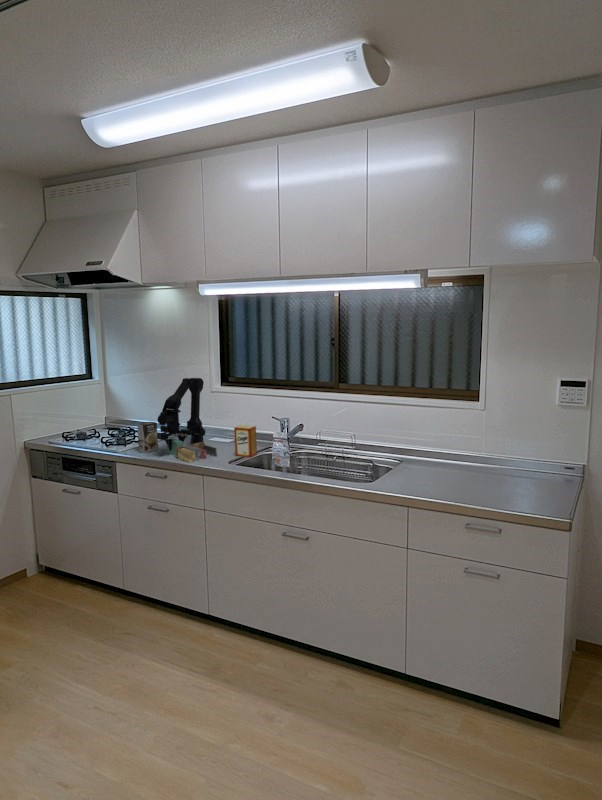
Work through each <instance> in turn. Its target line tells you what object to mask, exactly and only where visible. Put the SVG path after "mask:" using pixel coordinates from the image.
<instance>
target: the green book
mask: <svg viewBox="0 0 602 800" xmlns="http://www.w3.org/2000/svg"><path fill="white" fill-rule="evenodd" d="M171 439H172V450H171V451H170V450H169V447H168V445H167V444H166V447H167V448H166V449H167V454H169V455H171V454H172V455H171V456H174V455H175V457H177V452H176V447H181V446H184V442H183V441H180V440H179V439H177V438H176V439H175V438H173V437H171Z"/></svg>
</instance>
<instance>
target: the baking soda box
mask: <svg viewBox="0 0 602 800" xmlns="http://www.w3.org/2000/svg"><path fill="white" fill-rule="evenodd" d="M257 448H258V447H257V426H256V425H247V424H245V425H243V424H241V425H240V424H239V425H238V426H235V427H234V449H235V450H234V452H235V457H240V458H241V457H244V458H253V457H255V456H257V455H258V453H257V452H258V450H257Z"/></svg>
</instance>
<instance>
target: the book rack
mask: <svg viewBox="0 0 602 800" xmlns="http://www.w3.org/2000/svg"><path fill="white" fill-rule="evenodd" d="M204 444H205V441H203V442H200V443H195V444H191V443H190V444H187V445H183V446H181V447H176V452H177V456H176V459H177V458H179V459H178V460H180V459H182V460H181V461H183V460H185V461H184V462H186V461H188V462H187V463H189V462H190V463H193V462H192V461H194V462H196V461H195V460H198V461H200V460H199V459H203V460H205V459H204V458H208V457H207V455H208V454H210V455H209V456H212V455H213V456H212V457H217V456H218V453H217V447H214V446H210V445H206V444H205V445H204ZM206 453H207V454H206Z"/></svg>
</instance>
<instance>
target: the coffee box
mask: <svg viewBox="0 0 602 800" xmlns="http://www.w3.org/2000/svg"><path fill="white" fill-rule="evenodd" d="M157 434H158V422H157V421H156V422H155V421H147V422H141V423H137V440H138V441H137V442H138V452H139V453H143V454H148V453H152V452H155V451H159V439H157ZM151 451H152V452H151Z"/></svg>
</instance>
